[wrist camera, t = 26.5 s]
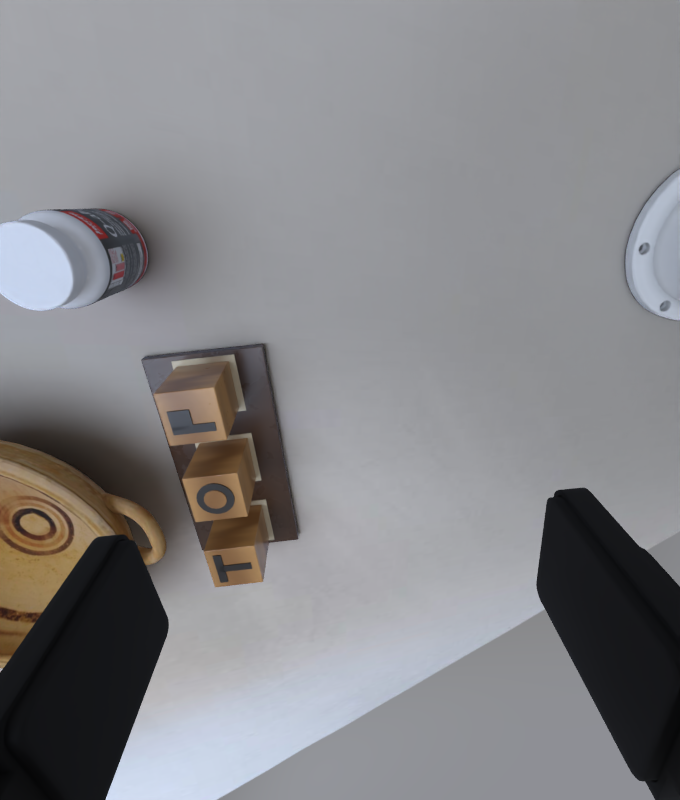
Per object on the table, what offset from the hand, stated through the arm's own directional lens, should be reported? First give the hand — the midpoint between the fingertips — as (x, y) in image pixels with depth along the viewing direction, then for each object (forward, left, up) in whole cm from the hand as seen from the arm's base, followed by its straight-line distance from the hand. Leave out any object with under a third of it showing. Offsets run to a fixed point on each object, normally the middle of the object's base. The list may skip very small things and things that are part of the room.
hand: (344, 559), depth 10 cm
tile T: (+11, +21, -26) cm, 35 cm away
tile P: (+11, +6, -26) cm, 29 cm away
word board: (+10, +13, -27) cm, 32 cm away
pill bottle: (+15, -6, -27) cm, 32 cm away
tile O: (+10, +13, -26) cm, 31 cm away
